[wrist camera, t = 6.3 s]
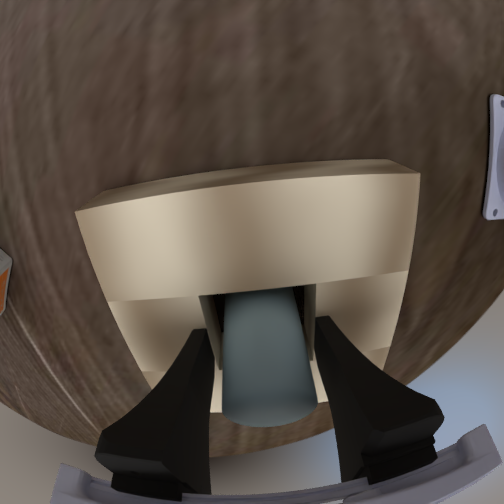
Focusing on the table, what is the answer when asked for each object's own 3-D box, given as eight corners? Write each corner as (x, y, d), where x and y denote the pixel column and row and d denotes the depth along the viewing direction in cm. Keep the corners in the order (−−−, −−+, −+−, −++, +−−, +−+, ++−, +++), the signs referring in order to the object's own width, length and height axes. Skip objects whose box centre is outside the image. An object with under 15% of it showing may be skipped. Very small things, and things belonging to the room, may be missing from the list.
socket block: (388, 159, 12) (420, 173, 10) (363, 359, 19) (375, 390, 16) (104, 190, 13) (74, 211, 10) (172, 378, 19) (165, 411, 17)
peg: (293, 261, 15) (324, 380, 9) (290, 313, 16) (311, 421, 11) (221, 266, 15) (215, 388, 9) (228, 317, 16) (227, 428, 11)
